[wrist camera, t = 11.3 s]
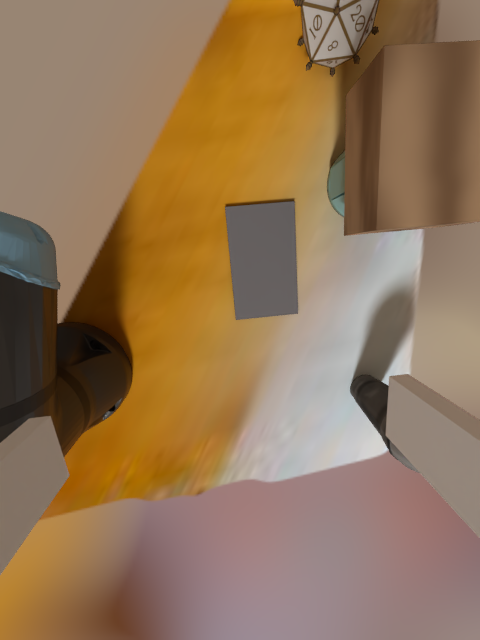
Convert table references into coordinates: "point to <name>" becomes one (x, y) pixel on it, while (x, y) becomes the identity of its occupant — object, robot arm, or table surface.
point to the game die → (336, 29)
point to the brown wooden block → (414, 139)
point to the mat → (263, 259)
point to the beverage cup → (376, 409)
